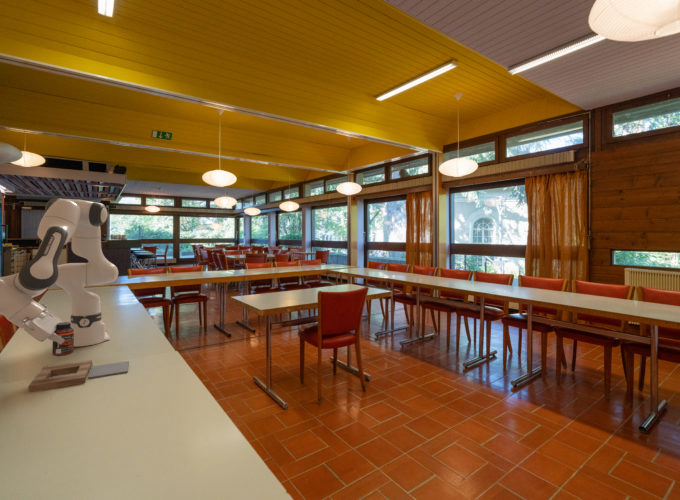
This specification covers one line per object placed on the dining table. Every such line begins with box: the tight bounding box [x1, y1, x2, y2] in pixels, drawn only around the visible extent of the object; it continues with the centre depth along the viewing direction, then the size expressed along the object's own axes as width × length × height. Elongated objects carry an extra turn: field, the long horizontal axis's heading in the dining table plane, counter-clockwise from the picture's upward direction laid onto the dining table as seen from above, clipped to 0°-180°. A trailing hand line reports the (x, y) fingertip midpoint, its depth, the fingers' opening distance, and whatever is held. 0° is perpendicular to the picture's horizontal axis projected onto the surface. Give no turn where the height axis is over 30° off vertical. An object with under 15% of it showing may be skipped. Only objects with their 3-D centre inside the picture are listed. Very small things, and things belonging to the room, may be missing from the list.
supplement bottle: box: [52, 321, 74, 357], centre depth 120 cm, size 6×6×11 cm
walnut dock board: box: [28, 359, 93, 393], centre depth 120 cm, size 19×15×2 cm
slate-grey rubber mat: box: [87, 360, 130, 380], centre depth 127 cm, size 12×12×1 cm
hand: (65, 339), depth 120 cm, fingers closed on supplement bottle, 6 cm apart
